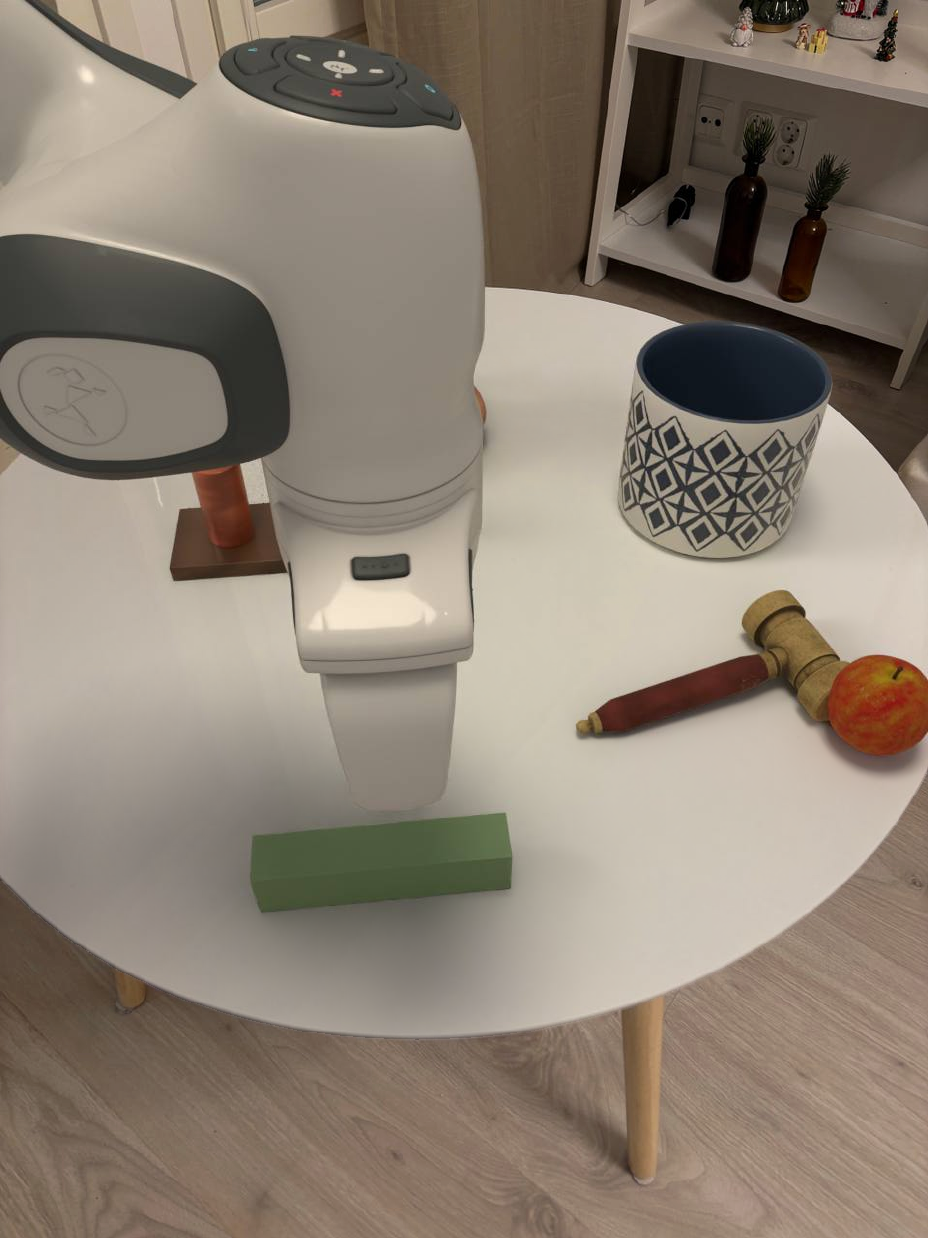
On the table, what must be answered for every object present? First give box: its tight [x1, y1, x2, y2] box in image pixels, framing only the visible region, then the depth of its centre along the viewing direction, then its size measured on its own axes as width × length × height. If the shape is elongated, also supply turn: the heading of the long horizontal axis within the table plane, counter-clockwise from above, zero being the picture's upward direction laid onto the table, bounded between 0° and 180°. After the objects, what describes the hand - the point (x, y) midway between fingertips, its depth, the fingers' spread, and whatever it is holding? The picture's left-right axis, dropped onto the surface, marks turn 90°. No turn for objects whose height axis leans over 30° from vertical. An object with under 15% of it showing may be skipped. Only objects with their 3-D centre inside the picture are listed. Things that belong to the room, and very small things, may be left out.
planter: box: [617, 320, 833, 559], centre depth 82 cm, size 16×16×14 cm
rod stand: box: [169, 464, 288, 582], centre depth 81 cm, size 22×8×10 cm, turn 96°
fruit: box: [827, 654, 928, 757], centre depth 66 cm, size 7×7×8 cm
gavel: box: [575, 589, 851, 735], centre depth 70 cm, size 21×5×10 cm
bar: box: [249, 811, 514, 913], centre depth 59 cm, size 16×3×4 cm, turn 96°
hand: (395, 702), depth 49 cm, fingers open, 8 cm apart
